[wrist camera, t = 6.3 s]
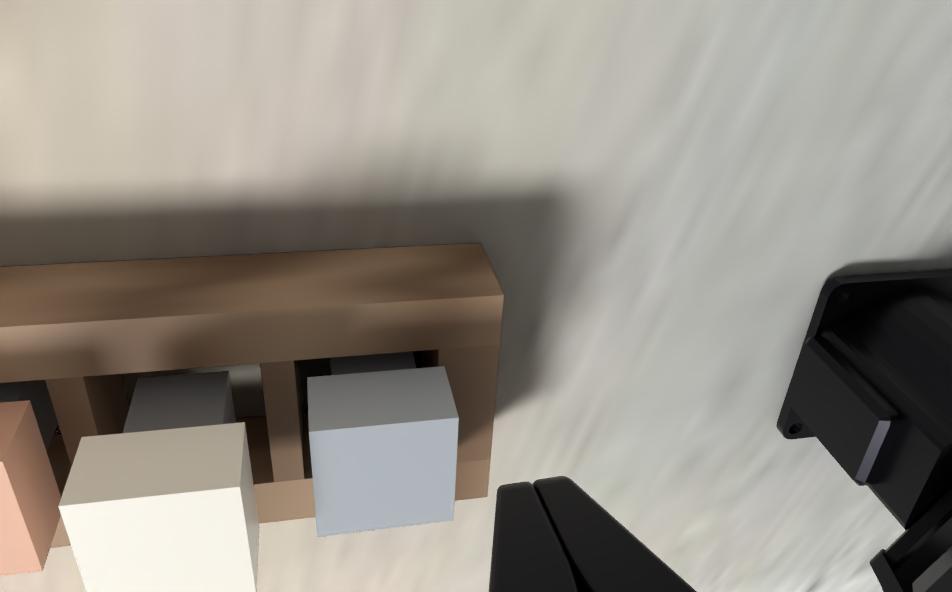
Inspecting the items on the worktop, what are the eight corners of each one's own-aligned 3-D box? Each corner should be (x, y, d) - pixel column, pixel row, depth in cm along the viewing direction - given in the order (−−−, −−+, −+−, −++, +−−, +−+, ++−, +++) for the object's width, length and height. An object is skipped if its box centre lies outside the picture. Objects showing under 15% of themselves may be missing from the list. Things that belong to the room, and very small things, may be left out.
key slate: (428, 307, 22) (458, 417, 18) (426, 401, 24) (453, 520, 20) (305, 315, 21) (309, 431, 17) (312, 411, 23) (317, 536, 19)
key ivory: (250, 350, 20) (240, 486, 16) (262, 449, 21) (256, 595, 17) (107, 360, 19) (58, 506, 15) (132, 462, 21) (95, 617, 17)
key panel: (480, 242, 21) (503, 294, 19) (469, 433, 25) (487, 496, 23) (-178, 275, 18) (-246, 342, 16) (-81, 488, 22) (-126, 568, 20)
